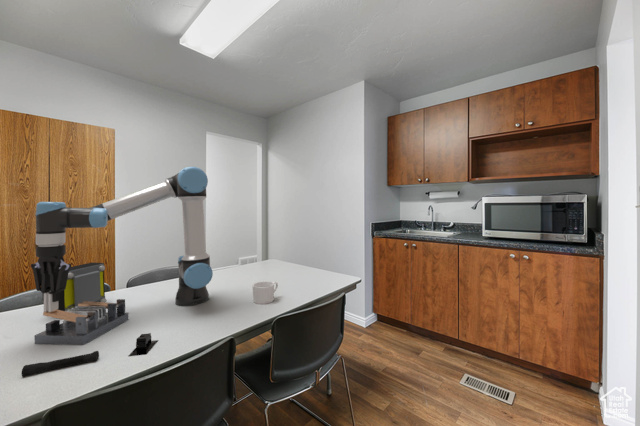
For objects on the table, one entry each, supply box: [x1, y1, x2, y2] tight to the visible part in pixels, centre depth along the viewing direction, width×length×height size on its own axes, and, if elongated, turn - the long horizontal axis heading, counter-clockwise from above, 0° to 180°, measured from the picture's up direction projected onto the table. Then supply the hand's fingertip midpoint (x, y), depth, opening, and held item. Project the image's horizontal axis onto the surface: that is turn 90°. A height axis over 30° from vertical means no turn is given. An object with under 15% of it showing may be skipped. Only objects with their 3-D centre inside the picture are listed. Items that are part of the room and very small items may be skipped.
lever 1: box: [42, 310, 88, 322], centre depth 96 cm, size 14×3×1 cm, turn 87°
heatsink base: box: [33, 298, 130, 346], centre depth 102 cm, size 18×20×9 cm
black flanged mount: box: [128, 333, 160, 357], centre depth 90 cm, size 12×7×5 cm, turn 10°
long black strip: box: [21, 350, 100, 378], centre depth 79 cm, size 3×16×3 cm, turn 116°
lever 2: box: [78, 301, 117, 310], centre depth 109 cm, size 14×3×1 cm, turn 87°
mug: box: [252, 281, 279, 305], centre depth 134 cm, size 13×10×8 cm
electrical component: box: [57, 262, 107, 311], centre depth 124 cm, size 18×10×20 cm, turn 168°
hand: (51, 310), depth 96 cm, fingers closed
